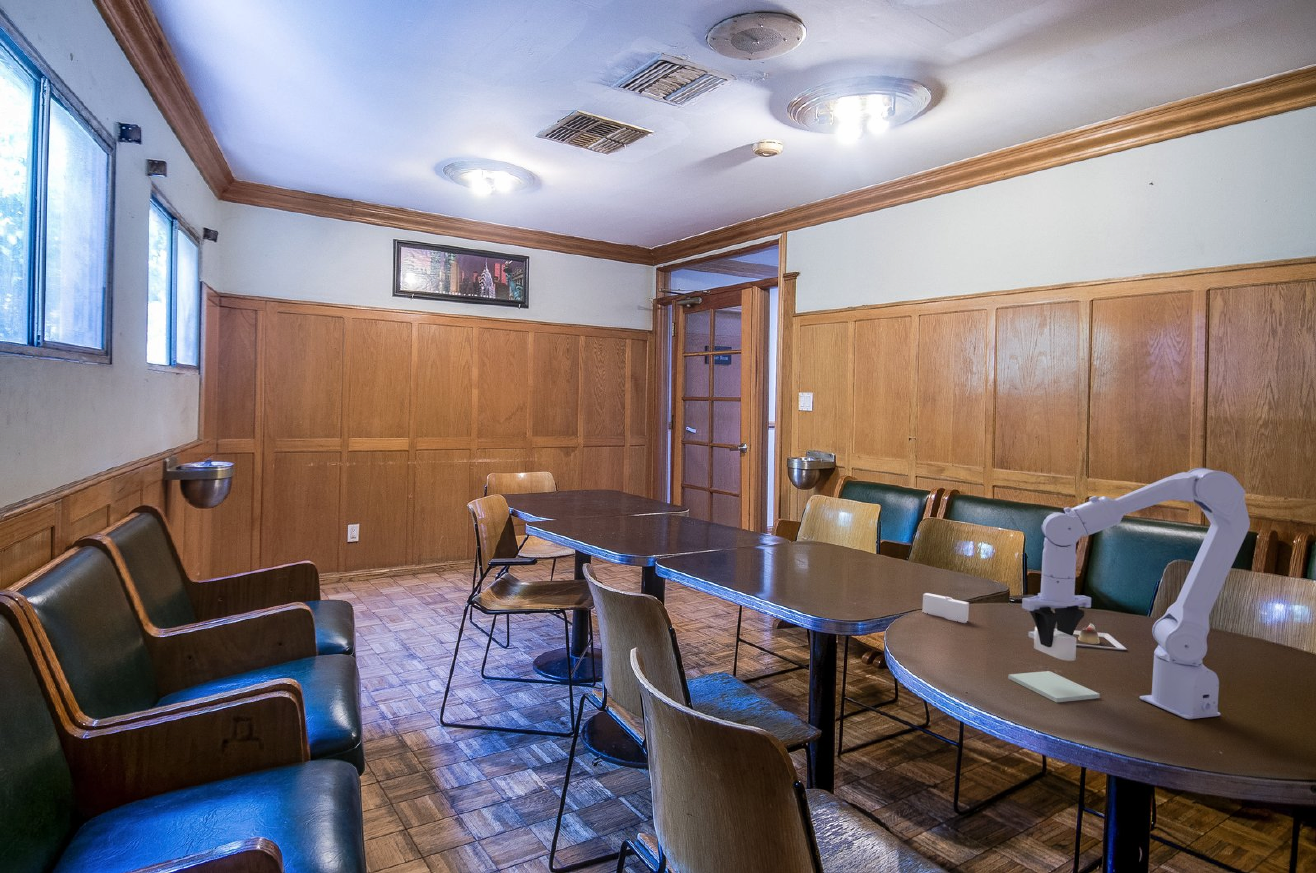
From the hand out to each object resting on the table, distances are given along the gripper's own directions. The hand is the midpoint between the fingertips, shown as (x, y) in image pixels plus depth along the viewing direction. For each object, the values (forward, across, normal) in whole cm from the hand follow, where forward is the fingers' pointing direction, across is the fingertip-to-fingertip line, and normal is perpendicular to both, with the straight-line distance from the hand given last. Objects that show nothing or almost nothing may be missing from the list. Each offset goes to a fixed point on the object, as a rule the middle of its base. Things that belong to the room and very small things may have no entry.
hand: (1054, 644), depth 140 cm
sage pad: (+8, 0, 0) cm, 8 cm away
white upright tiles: (+9, -10, -46) cm, 48 cm away
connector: (+2, 0, 0) cm, 2 cm away
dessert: (+9, -33, -23) cm, 41 cm away
